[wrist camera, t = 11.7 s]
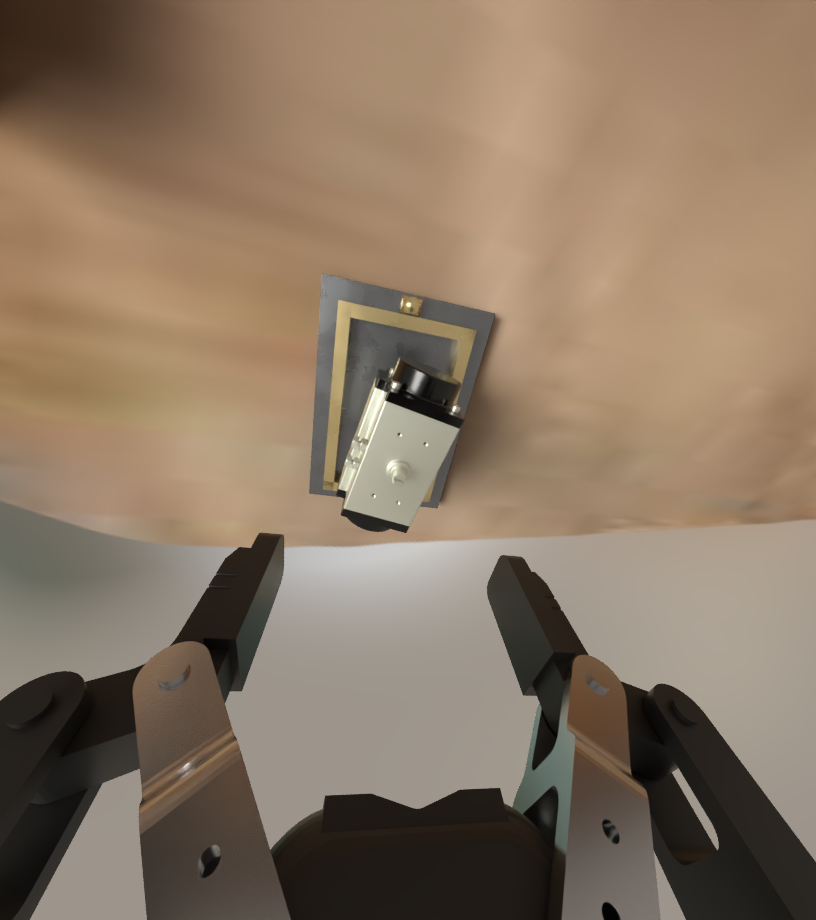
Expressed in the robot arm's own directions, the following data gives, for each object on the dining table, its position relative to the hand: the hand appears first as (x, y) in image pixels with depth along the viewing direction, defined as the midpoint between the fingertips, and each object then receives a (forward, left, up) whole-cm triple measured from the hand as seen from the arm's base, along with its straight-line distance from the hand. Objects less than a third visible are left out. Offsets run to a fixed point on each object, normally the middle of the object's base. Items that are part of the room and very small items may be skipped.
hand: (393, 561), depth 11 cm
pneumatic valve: (0, 0, -19) cm, 19 cm away
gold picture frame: (+1, +1, -20) cm, 20 cm away
